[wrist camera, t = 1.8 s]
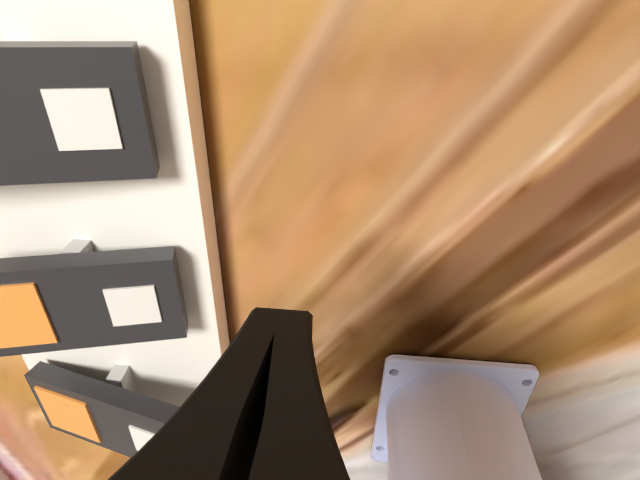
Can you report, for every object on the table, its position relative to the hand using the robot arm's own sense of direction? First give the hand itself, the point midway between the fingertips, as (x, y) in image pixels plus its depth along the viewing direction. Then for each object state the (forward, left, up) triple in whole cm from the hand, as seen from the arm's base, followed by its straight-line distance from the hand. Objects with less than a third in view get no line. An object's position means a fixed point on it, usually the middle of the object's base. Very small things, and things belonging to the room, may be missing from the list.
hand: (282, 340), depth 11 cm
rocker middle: (-5, +10, -6) cm, 13 cm away
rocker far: (-13, +10, -6) cm, 17 cm away
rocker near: (+3, +10, -6) cm, 12 cm away
